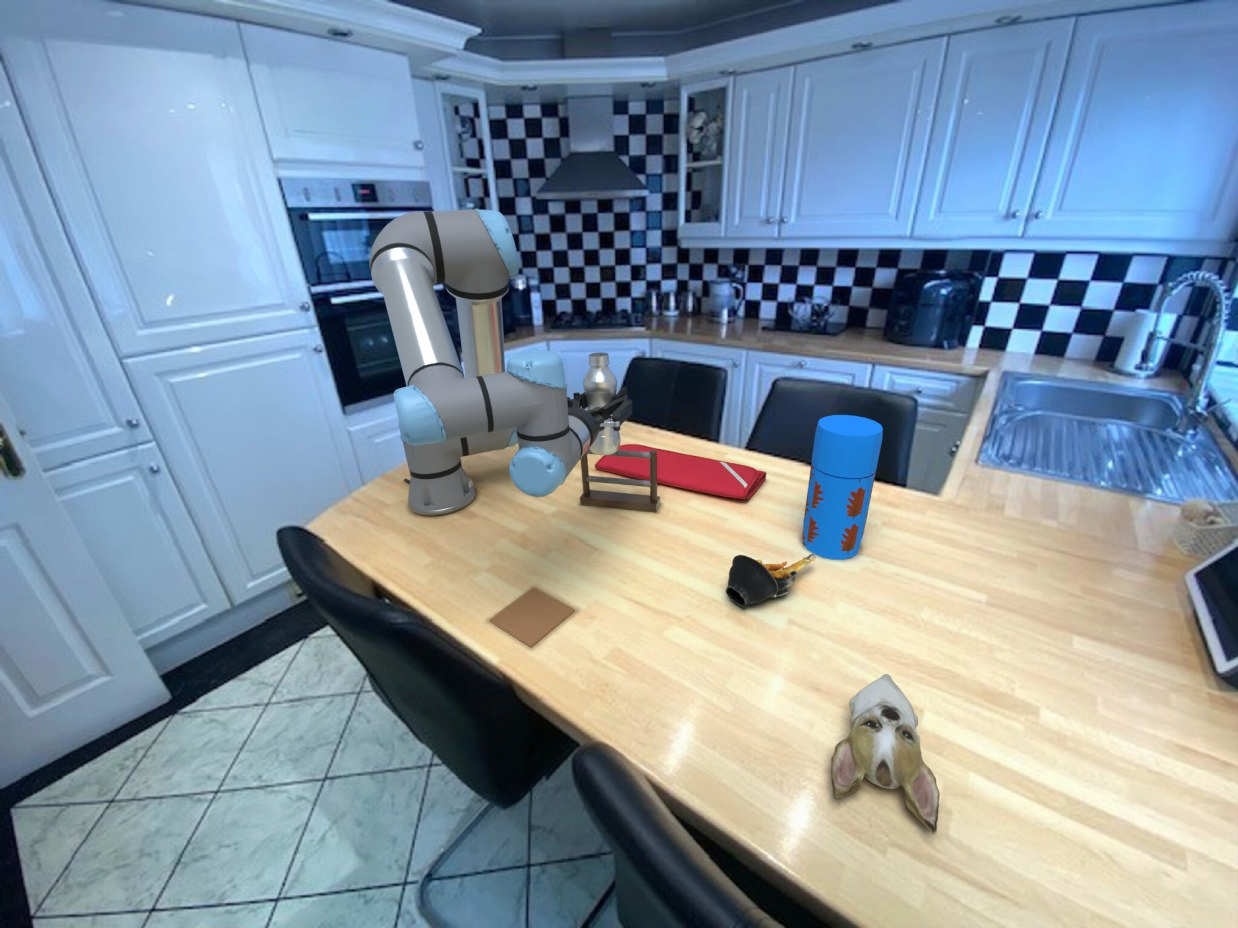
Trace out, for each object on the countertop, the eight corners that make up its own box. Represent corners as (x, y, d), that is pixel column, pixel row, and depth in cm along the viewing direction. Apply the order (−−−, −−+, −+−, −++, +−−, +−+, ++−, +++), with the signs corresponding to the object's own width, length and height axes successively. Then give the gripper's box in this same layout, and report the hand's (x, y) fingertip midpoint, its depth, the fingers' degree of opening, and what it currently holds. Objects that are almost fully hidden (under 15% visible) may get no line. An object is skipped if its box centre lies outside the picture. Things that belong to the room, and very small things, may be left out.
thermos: (861, 535, 102) (884, 418, 91) (859, 565, 93) (884, 440, 82) (804, 524, 106) (819, 412, 95) (797, 552, 97) (813, 432, 87)
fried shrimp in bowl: (704, 573, 85) (765, 507, 93) (734, 621, 88) (791, 553, 96) (743, 583, 77) (806, 510, 85) (774, 635, 80) (833, 560, 88)
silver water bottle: (617, 459, 99) (612, 359, 91) (584, 458, 101) (576, 358, 92) (623, 446, 105) (619, 350, 96) (592, 445, 106) (585, 350, 98)
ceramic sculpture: (940, 677, 59) (957, 803, 48) (924, 723, 64) (936, 851, 52) (842, 652, 63) (835, 763, 52) (833, 697, 68) (825, 810, 56)
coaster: (489, 621, 84) (489, 619, 84) (533, 589, 91) (533, 587, 91) (531, 647, 78) (530, 645, 78) (574, 611, 85) (574, 609, 85)
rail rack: (580, 504, 118) (575, 449, 112) (586, 496, 121) (581, 442, 115) (656, 512, 113) (655, 455, 107) (659, 503, 116) (659, 448, 110)
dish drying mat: (625, 449, 145) (624, 437, 144) (766, 479, 125) (768, 465, 124) (594, 471, 133) (593, 458, 132) (745, 507, 113) (746, 493, 112)
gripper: (519, 452, 87) (566, 408, 107) (627, 460, 82) (655, 412, 102) (513, 411, 83) (563, 373, 103) (625, 417, 78) (655, 376, 99)
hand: (609, 392), depth 103 cm, fingers closed on silver water bottle, 6 cm apart
